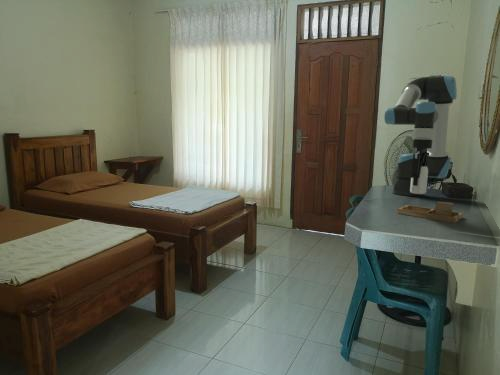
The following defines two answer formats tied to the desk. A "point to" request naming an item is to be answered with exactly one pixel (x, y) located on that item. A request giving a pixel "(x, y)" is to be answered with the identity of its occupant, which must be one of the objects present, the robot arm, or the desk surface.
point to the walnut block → (444, 208)
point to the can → (421, 180)
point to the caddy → (428, 213)
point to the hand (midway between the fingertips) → (418, 192)
